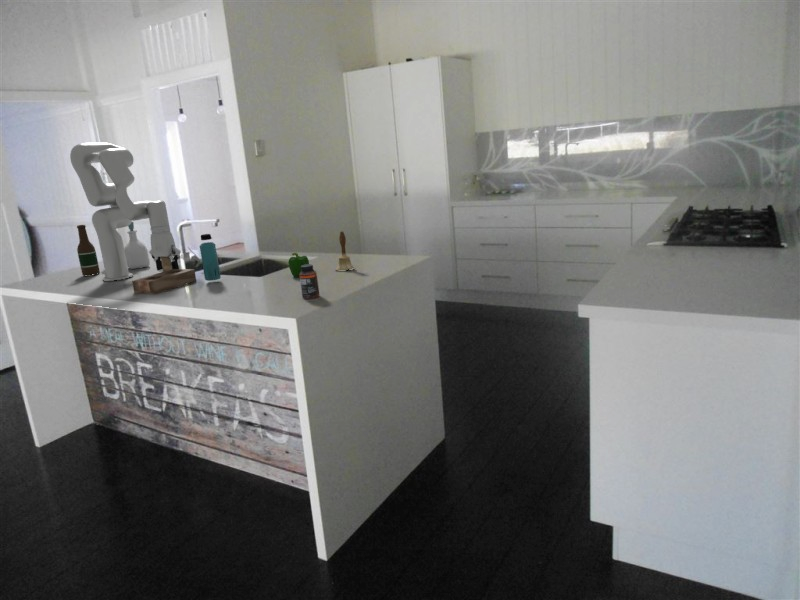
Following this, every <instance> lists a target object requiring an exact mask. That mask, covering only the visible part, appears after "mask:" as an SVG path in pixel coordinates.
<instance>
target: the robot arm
mask: <svg viewBox="0 0 800 600" xmlns="http://www.w3.org/2000/svg"><path fill="white" fill-rule="evenodd" d="M69 157H70V158H69V159H70V163H71V165H72V168H73V169H74V172H75V173H76V175H77V176H78V179H79V181H80V184H81V186H82V189H83V191H84V194H85V196H86V199H87V201H88V203H89V204H90V205H91V207H105V206H106V207H107V206H109V207H107V208H100V209H98V210H96V211H95V212H93V214H92V215H91V221H92V222H91V223H92V225H93V228H94V231H95V232H96V236H97V240H98V242H99V247H100V253H101V258H102V262H103V267H104V268H103V270H101V271H100V274H101V275H104V276H103V278H102V281H103V280H104V282H115V281H114V280H117V281H122V280H121V279H123V280H126V279H125V278H128V279H130V278H129V277H131V278H133V277H134V273H132V272H129V267H128V265H127V260H126V255H125V250H124V248H125V246H124V242H123V241H124V240H123V238H122V236H121V234H120V233H119V232H118V229H122V228H127V227H128V226H129V225H130V224H131V222H134V221H140V220H145V219H146V220H147V219H148V220H149V225H150V226H149V227H150V228H149V229H150V231H151V234H150V250H149V251H148V254H150V256H151V257H152V259H153V262H155V266H156V271H161V270H162V271H163V267H162V262H161V257H170V259H171V265H172V269H180V267H179V266H180V265H179V259H180V257H181V256H180V255H181V250H180V249H178V248H177V247H176V241H175V239H174V236H173V233H172V232H171V227H170V221H169V217H168V211H167V205H166V204H167V203H166V202H165V201H164V200H142V201H140V200H139V201H135V202H134V201H132V199H131V198H130V197H129V194H128V191H127V190H128V189H127V188H128V187H130V186H131V185H132V184H133V183H134V182H135V176H134V175H133V173H132V171H131V170H130V167H132V166H133V164H134V162H135V159H134V156H133V153H131V151H130V150H129V149H127V148H125V147H122V146H119V145H115V144H113V143H108V142H82V143H78V144H76V145H73V147H72V148H71V150H70V153H69ZM95 163H96V164H97V163H100V165H101V166H102V168H103V169H104V170H105V172H106V173H107V175H108V177H109V178H110V180H111V181H112V182H110V183H104V181H103V179H102V176H101V174H100V172H99V171H98V170H97V168H95V166H93V165H92V164H95ZM132 276H133V277H132Z"/></svg>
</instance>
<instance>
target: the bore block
mask: <svg viewBox="0 0 800 600" xmlns="http://www.w3.org/2000/svg"><path fill="white" fill-rule="evenodd" d="M193 281H194V282H197V276H196V270H195V269H194V268H189V269H188V268H179V269H171V270H168V271H164V272H163V271H162V272H161V271H160V272H159V273H155V274H151V275H148V276H144V277H140V278H137V279H135V280H131V284H132V289H133V293H134V294H144V295H158V294H161V293H165V292H167V291H170V290H173V289H176V288H178V286H179V287H182V286H185V285H187V284H186V283H188V284H191V283H194V282H193ZM190 282H191V283H190ZM184 284H185V285H184ZM181 285H182V286H181ZM175 287H176V288H175ZM172 288H173V289H172Z"/></svg>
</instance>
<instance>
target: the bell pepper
mask: <svg viewBox="0 0 800 600" xmlns="http://www.w3.org/2000/svg"><path fill="white" fill-rule="evenodd" d="M306 264H310V260H309V258H308V257H307V255H302V256H300V255H298V253H297V252H292V253H291V257H290V258H289V259H288V268H289V270H290V274H291V275H292V276H293V277H294V278H300V275H299V274H300V272H301V271H302V270H301V266H302V265H306Z"/></svg>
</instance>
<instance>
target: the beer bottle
mask: <svg viewBox="0 0 800 600" xmlns="http://www.w3.org/2000/svg"><path fill="white" fill-rule="evenodd" d="M86 227H87V226H86V224H78V225H77V226H76V228H77V231H78V238H79V241H78V242H79V243H78V245H77V248H76V251H77V257H78V261H79V265H80V270H81V274H82V276H83V275H92V274H97V273H100V274H101V271H100V266H99V261H98V256H97V251H96V248H95V245H94V244H93V243H92V242H90V239H89V236H88V234H87V233H88V232H87V229H86Z"/></svg>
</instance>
